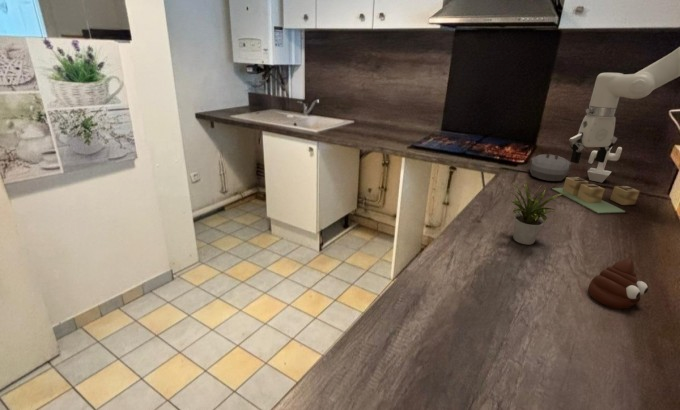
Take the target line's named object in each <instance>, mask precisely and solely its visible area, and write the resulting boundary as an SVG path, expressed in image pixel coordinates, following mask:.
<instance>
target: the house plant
mask: <svg viewBox="0 0 680 410" xmlns="http://www.w3.org/2000/svg"><path fill="white" fill-rule="evenodd" d="M508 182H510V183H511V184H512V185H514V186H515V187H516V189H517V190H518V191H517V190H516V191H515V190H514V192H516V193H517V194H518V195H519V196H520V198H521V200H522V202H521V200H520V199H519V197H518V195H516V194H515V193H513V190H511V189H510V190H509V189H508V191H509V192H511V191H512V192H511V194H513V195H514V196H515V197H516V199H513V200H510V202H511V203H512V204H513V205H515V206H517V207H518V208H514V209H513V211H512V213H511V215H513V214H516V213H517V214H516V215H514V217H513V240H514V241H515V242H517V243H519V244H522V245H529V246H530V245H533V244H535V241H536V240H537V238H538V236H539V234H540V232H541V229H542V228H543V225H544V224H545V222H546V221H547V218H548V217H547V215H546V214H549V213H555V209H554V208H551V207H544V206H546V205H547V204H548V203H550V202H551V201H552V202H553V201H556V200H555V199H556V198H557V197H560V196H564V195H563V194H560V193H557V194H555V195H552V196H550V197H549V198H547V199H545V200H544V201H543V202H542V203H541V201H542V200H543V198H544V197H545V194H546V191H547V190H546V188H547V187H546V188H544V189H543V191H542V192H541V193H539V194H537V193H538V192H539V190H540V188H541V187H542V186H543V185H544V184H543V183H542V184H541V185H540V186H539V187H538V188H537V190H536V192H535V193H534V196H533V199H532V198H531V197H532V195H531V192H530V187H529V185H528V184H527V183H526V182H524V184H523V188H524V190H525V191H524V192H525V195H526V199H525V198H524V196H523V193H522V192H521V189H520V188H519V185H517V184H516V183H514V182H512V181H511V180H508ZM539 195H540V196H539ZM538 197H539V198H538ZM522 203H523V205H524V206H523V205H522ZM507 207H510V205H507ZM520 212H521V213H520Z"/></svg>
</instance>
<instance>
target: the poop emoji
mask: <svg viewBox="0 0 680 410" xmlns="http://www.w3.org/2000/svg"><path fill="white" fill-rule="evenodd" d="M648 291H649V287H648V285H647V283H646V282H645V281H642V280H639V279H638V277H637V273H636V272H635V265H634V261H633V259H632V258H630V257H626V258H624V259H622V260H619V261H617V262H615V263H613V264H612V266H607V267H606V268H605V269H602V270H601V271H600V272H599V274H598V275H595V276H594V277H593V278H592V280H590V282H589V285H588V293H589V295H590V296H591V298H593V299H594V300H595V301H597V302H598V303H600V304H602V305H604V306H607V307H609V308H611V309H620V310H621V309H622V310H623V309H628V308H630V307H632V306H634V305H636V304H637V303H639V302H640V300H641V296H642V295H645V294H647V292H648Z"/></svg>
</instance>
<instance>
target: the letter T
mask: <svg viewBox="0 0 680 410" xmlns="http://www.w3.org/2000/svg"><path fill="white" fill-rule="evenodd" d="M640 192H641V191H640V190H638V189H636V188H633V187H631V186H628V185H615V186H614V187H613V189H612V192H611V195H610V198H609V200H610V201H612V202H614V203H617V204H619V205H620V206H633V205H636V202H637V200H638V198H639V194H640Z"/></svg>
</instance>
